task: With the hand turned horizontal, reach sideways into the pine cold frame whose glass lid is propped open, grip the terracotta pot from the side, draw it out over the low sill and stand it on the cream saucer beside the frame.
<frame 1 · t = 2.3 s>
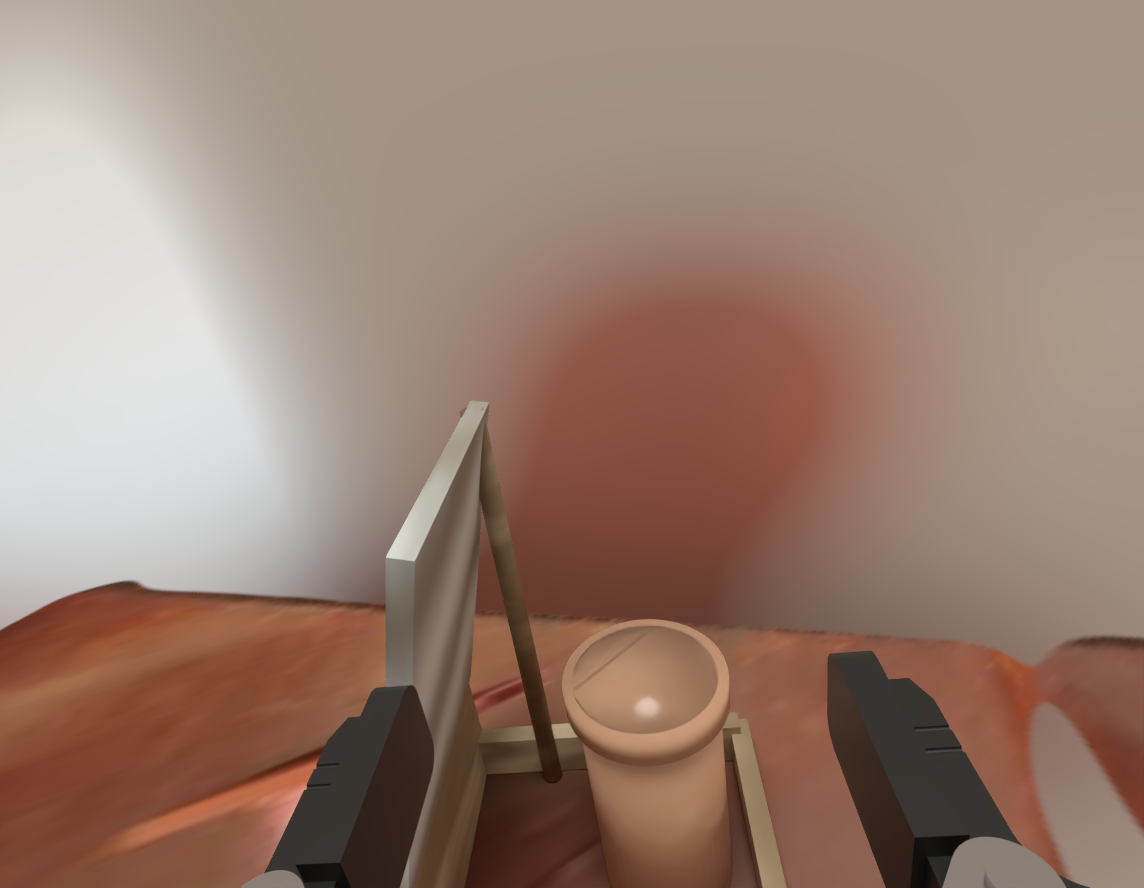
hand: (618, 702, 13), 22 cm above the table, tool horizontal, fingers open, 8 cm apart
cold frame: (637, 863, 32), on the table
clay pot: (668, 862, 32), resting in cold frame
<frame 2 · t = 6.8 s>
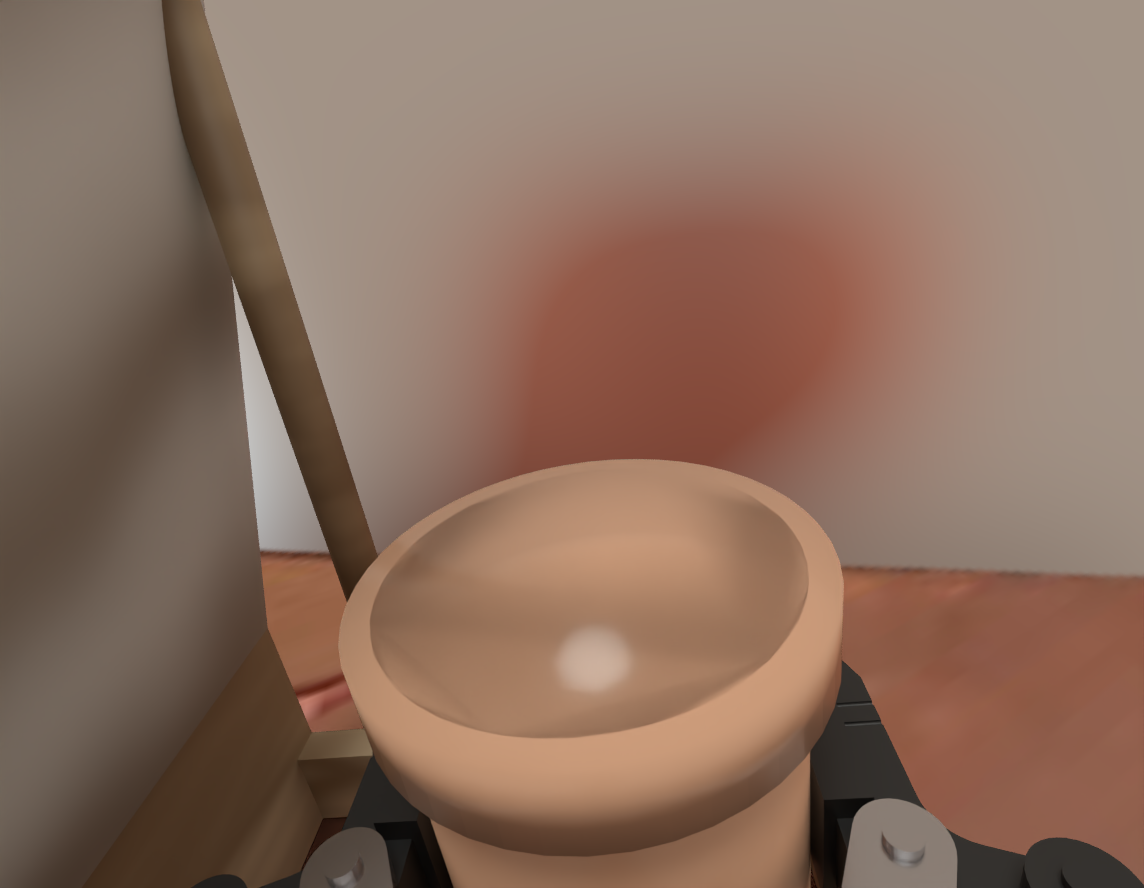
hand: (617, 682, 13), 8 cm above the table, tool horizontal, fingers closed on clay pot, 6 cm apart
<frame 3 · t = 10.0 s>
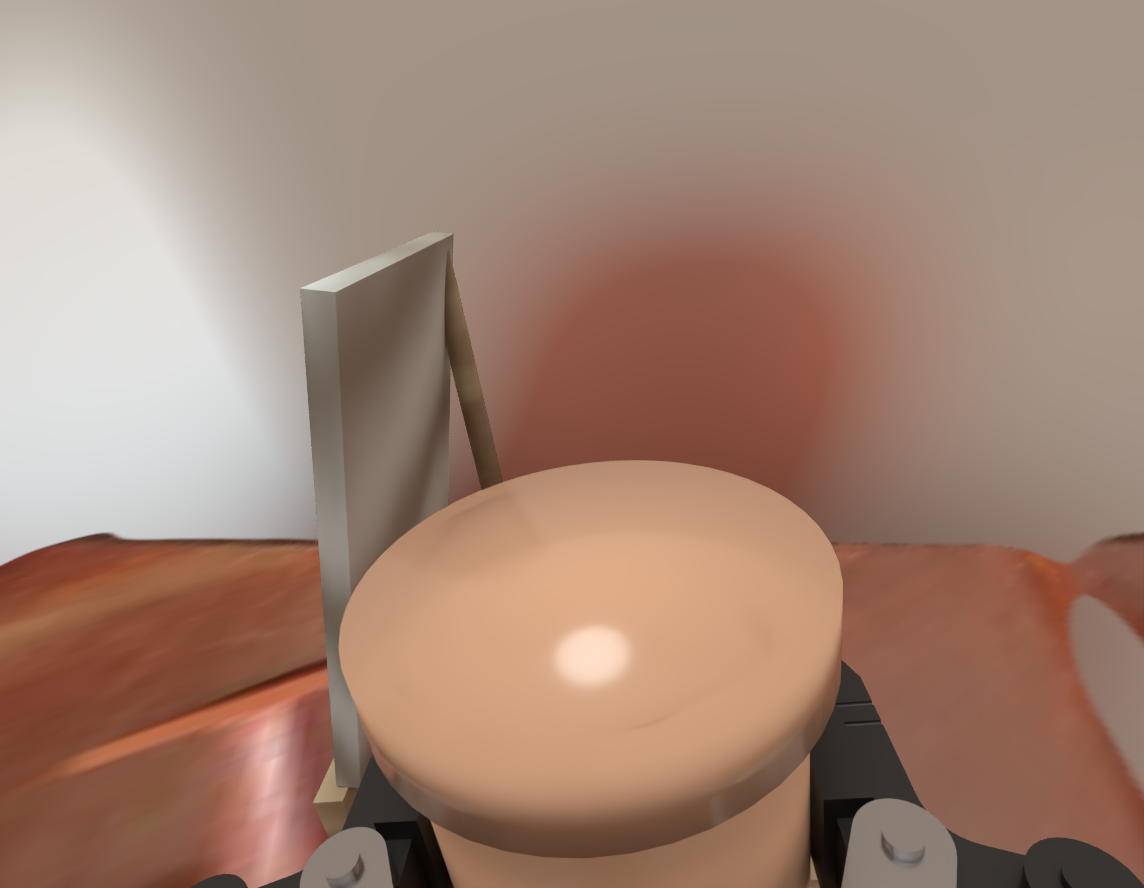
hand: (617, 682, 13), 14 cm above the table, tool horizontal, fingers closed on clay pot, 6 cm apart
cold frame: (632, 765, 28), on the table
when the fingers open (9 cm above the table, at t = 13.5 s): clay pot stays where it is, resting on saucer.
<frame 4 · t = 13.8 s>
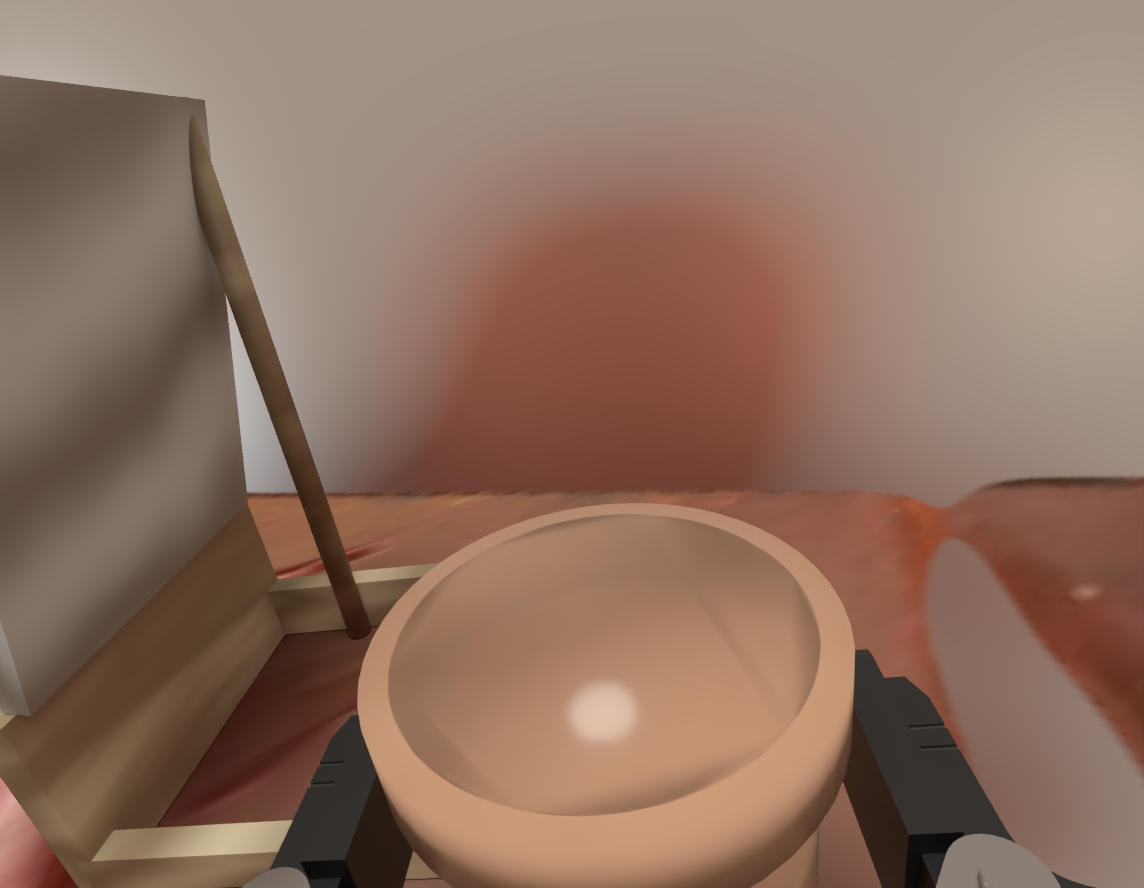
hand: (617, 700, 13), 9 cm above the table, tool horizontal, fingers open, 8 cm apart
cold frame: (426, 711, 26), on the table
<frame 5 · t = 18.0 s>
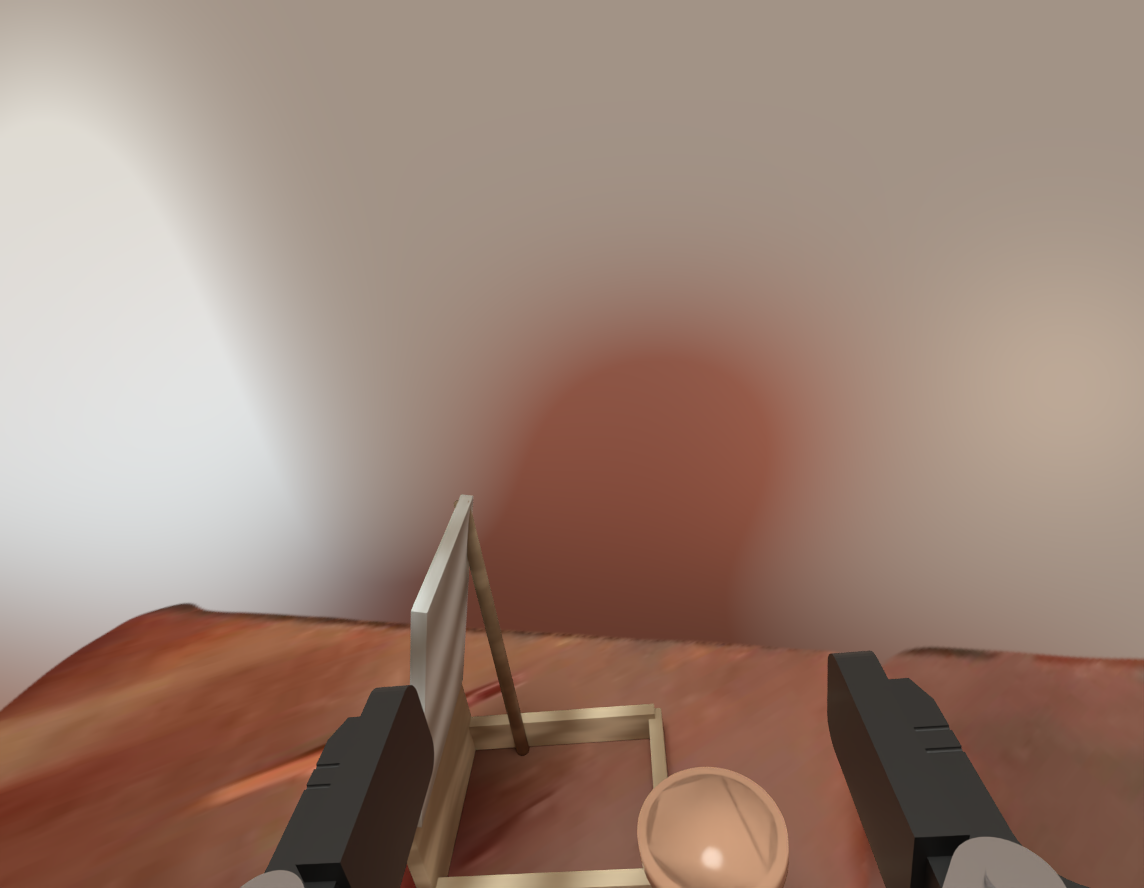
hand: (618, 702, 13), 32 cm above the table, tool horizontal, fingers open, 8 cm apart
cold frame: (577, 807, 46), on the table
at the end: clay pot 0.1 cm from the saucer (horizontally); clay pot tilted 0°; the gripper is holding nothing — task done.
